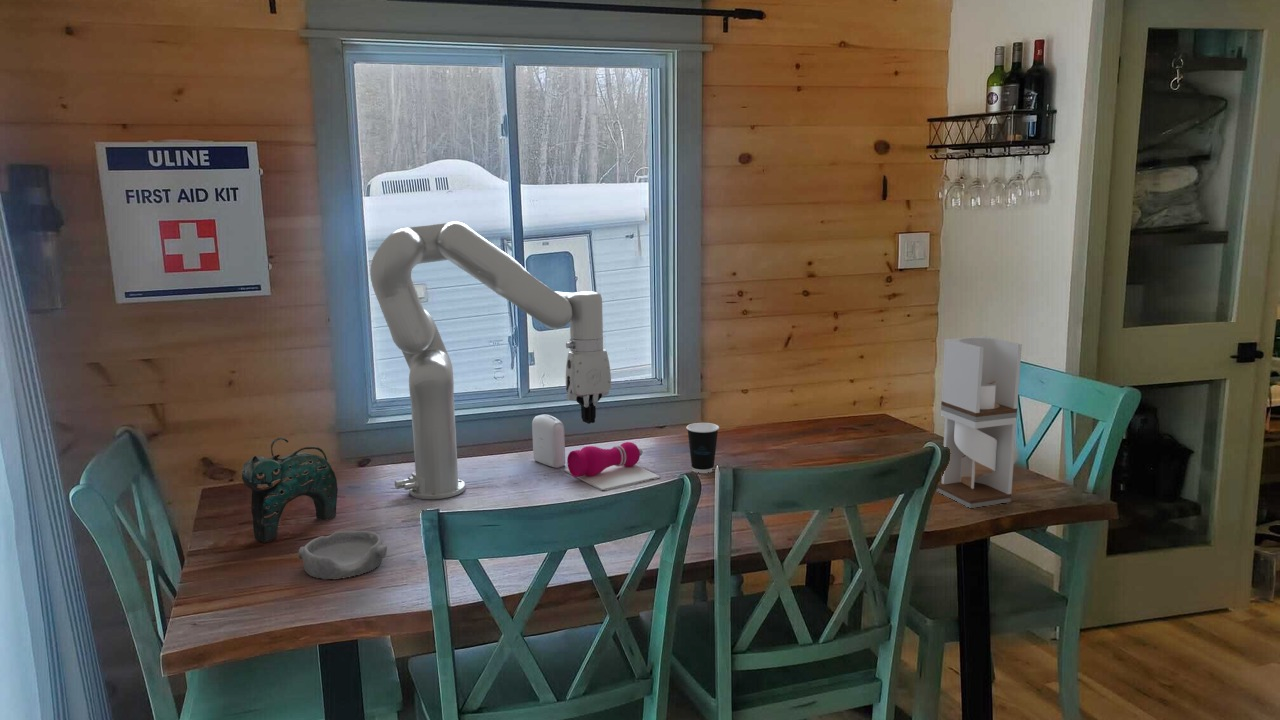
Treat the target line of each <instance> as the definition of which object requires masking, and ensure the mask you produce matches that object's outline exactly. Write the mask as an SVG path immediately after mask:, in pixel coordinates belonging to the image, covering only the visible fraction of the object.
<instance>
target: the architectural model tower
mask: <svg viewBox="0 0 1280 720" xmlns="http://www.w3.org/2000/svg"><path fill="white" fill-rule="evenodd" d="M943 344H944V347H943V364H942V365H943V366H942V385H941V387H942V388H941V404H940V405H941V407H940V416H941V417H943V418H944V427H943V428H944V430H943V446H944V447H948V448H949V449H950V453H951V454H950V461H949V464H948V466H947V468H946V470H945V471H944V474H943V476H942V475H941V483H938V484H939V486H938V489H937V488H936V493H937V492H938V491H939V493H941V494H943V495H945V496H947V497H949V498H951V499H953V500H955V501H957V502H959V503H961V504H963V505H965V506H966V507H965V506H964V507H965V508H967V507H969V508H974V507H980V506H987V505H993V504H998V503H1005V502H1011V503H1012V490H1013V477H1014V461H1015V460H1014V459H1015V446H1016V433H1017V419H1018V418H1017V417H1018V405H1019V404H1018V403H1019V389H1020V388H1019V387H1020V373H1021V361H1022V346H1023V344H1021V343H1018V342H1017V343H1016V342H1012V341H1008V340H1004V339H999V338H995V337H991V336H987V335H981V336H980V335H979V336H971V337H956V338H944V343H943ZM939 493H938V494H939ZM941 494H940V495H941ZM943 495H942V496H943ZM945 496H944V497H945ZM947 497H946V498H947ZM949 498H948V499H949ZM951 499H950V500H951ZM953 500H952V501H953ZM955 501H954V502H955ZM957 502H956V503H957ZM959 503H958V504H959ZM961 504H960V505H961ZM963 505H962V506H963ZM987 507H988V506H987ZM969 508H968V509H969ZM974 509H975V508H974Z"/></svg>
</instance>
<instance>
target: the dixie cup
mask: <svg viewBox="0 0 1280 720" xmlns="http://www.w3.org/2000/svg"><path fill="white" fill-rule="evenodd" d="M685 428H686V429H687V436H688V445H689V452H690V453H689V454H690V463H691V468H692V471H693V472H694V473H696V474H697V473H698V472H699V473H698V474H709V473H712V472H713V470H712V469H713V468H714V467H715V460H716V450H717V449H716V448H717V441H718V435H719V434H718V432H719V429H720V426H719V425H718V424H715V423H712V422H711V423H710V422H695V423H694V422H693V423H690V424H688V425H687V426H686V427H685ZM693 469H694V470H693ZM708 472H709V473H708Z"/></svg>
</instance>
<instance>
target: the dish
mask: <svg viewBox="0 0 1280 720" xmlns="http://www.w3.org/2000/svg"><path fill="white" fill-rule="evenodd" d="M387 550H388V546H387V545H383V541H382V538H381V536H380V535H379V534H378V533H376V532H372V531H369V530H339V531H335V532H333V533H331V534H330V535H327V536H324V535H321V536H318V537H316V538H313V539H312V540H310V541H309V542H307V543H306V544H305V545H304V546H300V548H299V549H298V558H299V559H300V560H302V564H303V568H304V571H305V573H306V574H308V575H309V576H310V577H312V576H313V577H312V578H315V577H316V579H318V578H322V579H321V580H327V579H333V580H335V579H334V578H343V577H349V576H354V577H356V576H355V575H358V576H360V575H359V574H362V575H364V574H363V573H365V574H367V573H366V572H368V573H369V571H370V572H372V571H374V570H376V569H377V568H378V567H379V566H380V565H381V564H382V561H383V559H384V558H385V557H386V556H387ZM376 567H377V568H376ZM375 568H376V569H375ZM373 569H374V570H373ZM371 570H372V571H371ZM349 578H350V577H349ZM343 579H344V578H343Z"/></svg>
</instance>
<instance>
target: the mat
mask: <svg viewBox="0 0 1280 720" xmlns="http://www.w3.org/2000/svg"><path fill="white" fill-rule="evenodd" d="M564 472H565V473H567V474H569V475H571V476H573V475H572V474H571V473H570V471H569V469H568V468H564ZM657 477H660V478H661V476H660V475H658V474H656V473H654V472H652V471H649V470H647V469H645V468H642V467H641V466H638V465H637V464H635V465H633V466H629V467H627V466H624V465H623V466H619V467H617V466H615V465H613V466H610V467H607V468H606V469H604V470H603V471H602V472H601V473H599V474H597V475H595V476H590V477H589V476H586V475H584V476H580V477H576V478H577V479H579V480H581V481H582V482H584V483H586V484H588V485H590V486H592V487H593V488H595V489H597V488H598V490H599V489H600V491H601V490H605V491H608V490H607V489H609V490H614V489H617V488H622V487H623V488H624V487H627V486H631V485H637V484H640V483H639V482H641V483H644V482H643V481H645V482H647V481H646V480H649V479H654V480H656V479H655V478H657Z"/></svg>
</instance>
